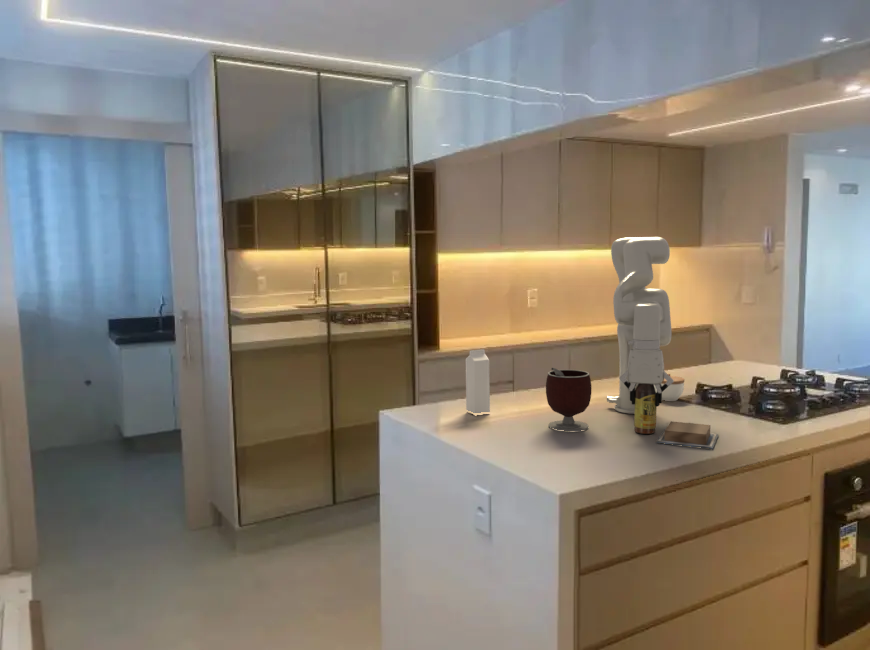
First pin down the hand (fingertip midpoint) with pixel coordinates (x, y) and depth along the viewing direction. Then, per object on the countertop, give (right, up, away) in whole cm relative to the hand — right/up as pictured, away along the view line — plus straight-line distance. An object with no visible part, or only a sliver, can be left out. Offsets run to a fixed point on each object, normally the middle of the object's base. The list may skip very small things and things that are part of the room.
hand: (645, 404), depth 204 cm
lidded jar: (+22, -4, +45) cm, 50 cm away
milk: (-48, -7, +29) cm, 57 cm away
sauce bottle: (0, -9, +1) cm, 9 cm away
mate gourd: (-22, -9, +8) cm, 25 cm away
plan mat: (+10, -9, -8) cm, 16 cm away
